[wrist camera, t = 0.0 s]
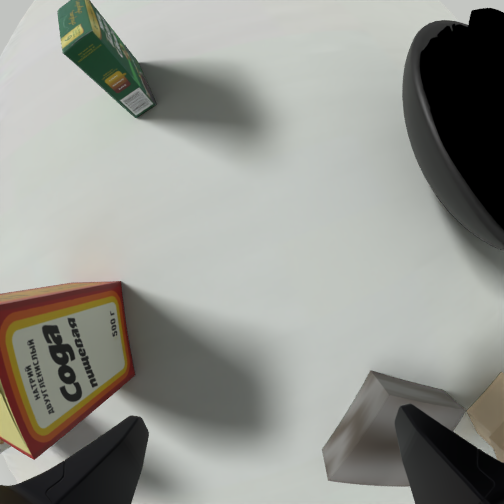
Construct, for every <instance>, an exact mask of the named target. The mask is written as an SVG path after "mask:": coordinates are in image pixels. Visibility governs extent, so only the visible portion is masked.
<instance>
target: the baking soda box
mask: <svg viewBox="0 0 504 504" xmlns="http://www.w3.org/2000/svg"><path fill="white" fill-rule="evenodd" d="M134 376H135V372H134V367H133V362H132V356H131V351H130V345H129V339H128V333H127V327H126V320H125V312H124V305H123V296H122V287H121V281H114V282H83V283H67V284H61V285H54V286H48V287H41V288H35V289H29V290H22V291H16V292H9V293H3V294H0V439H1V440H3V441H4V442H6V443H7V444H9V445H10V446H12V447H14V448H15V449H17V450H18V451H20V452H22V453H23V454H25V455H27V456H28V457H30V458H32V459H34V460H35V459H36V458H37V457H38V456H40V455H41V454H42V453H43V452H45V451H46V450H47V449H48V448H49V447H51V446H52V445H53V444H54V443H55V442H57V441H58V440H59V439H60V438H62V437H63V436H64V435H65V434H66V433H68V432H69V431H70V430H71V429H72V428H74V427H75V426H76V425H77V424H78V423H80V422H81V421H82V420H83V419H84V418H86V417H87V416H88V415H89V414H90V413H91V412H93V411H94V410H95V409H96V408H97V407H99V406H100V405H101V404H102V403H103V402H104V401H106V400H107V399H108V398H109V397H110V396H112V395H113V394H114V393H115V392H116V391H117V390H119V389H120V388H121V387H122V386H123V385H124V384H126V383H127V382H128V381H129V380H130V379H131V378H133V377H134Z"/></svg>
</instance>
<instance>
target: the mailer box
mask: <svg viewBox="0 0 504 504" xmlns="http://www.w3.org/2000/svg"><path fill="white" fill-rule="evenodd" d="M467 413H468V415H469V417H470V419H471V421H472V423H473V425H474V427H475V429H476V431H477V433H478V434H479V435H480V436H481V437H482V438H483V439H484V440H485V441H486V442H487V443H488V444H489V445H490V446H491V447H493V446H492V444H491V441H490V439H489V437H490V436H491V435H492V434H493V433H494V431H495V430H496V429H497V428H498V427H499V426H500V425H501V424H502V423H503V422H504V373H502V372H501V373H500V374H499V375H498V376H497V378H496V379H495V380H494V381H493V382H492V384H491V385H490V386H489V387H488V388H487V389H486V391H485V392H484V393H483V394H482V395H481V396H480V397H479V398H478V399H477V400H476V402H475V403H474V404H473V405H472V406H471V407H470V408H469V409H468V410H467Z"/></svg>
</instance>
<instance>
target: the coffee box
mask: <svg viewBox="0 0 504 504" xmlns="http://www.w3.org/2000/svg"><path fill="white" fill-rule="evenodd" d="M58 21H59V30H60V38H61V45H62V51H63V54H64V55H66V56H67V57H68V58H69V59H70V60H71V61H73V62H74V63H75V64H76V65H77V66H78V67H79V68H80V69H82V70H83V71H84V72H85V73H86V74H87V75H88V76H89V77H90V78H92V79H93V80H94V81H95V82H96V83H97V84H98V85H99V86H100V87H102V88H103V89H104V90H105V91H106V92H107V93H108V94H109V95H110V96H111V97H112V98H113V99H115V100H116V101H117V102H118V103H119V104H120V105H121V106H122V107H123V108H125V109H126V110H127V111H128V112H129V113H130V114H131V115H133V116H134V117H135V118H137V117H138V116H140V115H141V114H143V113H144V112H146V111H147V110H149V109H150V108H152V107H154V106H155V105H156V102H155V100H154V97H153V95H152V93H151V90H150V88H149V86H148V84H147V81H146V79H145V77H144V74H143V72H142V69H141V68H140V66H139V63H138V61H137V60H136V58H135V57H134V56H133V55H132V53H131V52H130V51H129V50H128V48H127V47H126V46H125V45H124V44H123V42H122V41H121V40H120V38H119V37H118V36H117V34H116V33H115V32H114V31H113V29H112V28H111V27H110V26H109V24H108V23H107V22H106V21H105V19H104V18H103V17H102V16H101V14H100V13H99V12H98V10H97V9H96V8H95V7H94V5H93V4H92V3H91V1H90V0H70V1H69V2H68V3H66V4H65V5H64V6H62V7H61V8H60V9H59V10H58Z"/></svg>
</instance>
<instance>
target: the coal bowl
mask: <svg viewBox="0 0 504 504" xmlns="http://www.w3.org/2000/svg"><path fill="white" fill-rule="evenodd" d="M402 97H403V109H404V117H405V123H406V127H407V132H408V136H409V139H410V142H411V146H412V149H413V151H414V154H415V157H416V159H417V162H418V164H419V166H420V168H421V170H422V172H423V174H424V176H425V178H426V180H427V181H428V183H429V185H430V187H431V188H432V190H433V191H434V193H435V194H436V196H437V197H438V198H439V200H440V201H441V202H442V204H443V205H444V206H445V207H446V208H447V210H448V211H449V212H450V213H451V214H452V215H453V216H454V217H455V218H456V219H457V220H458V221H459V222H460V223H461V224H462V225H463V226H464V227H465V228H467V229H468V230H469V231H470V232H471V233H473V234H474V235H475V236H477V237H478V238H480V239H481V240H483V241H485V242H486V243H488V244H490V245H491V246H494V247H496V248H498V249H500V250H503V251H504V13H503V12H501V11H499V10H496V9H492V8H485V9H484V8H483V9H477V10H472V12H471V15H470V20H469V25H466V24H463V23H460V22H456V21H449V20H441V21H435V22H432V23H429V24H428V25H426V26H424V27H423V28H422V29H421V30H420V31H419V32H418V33H417V34H416V36H415V38H414V40H413V42H412V44H411V47H410V49H409V52H408V55H407V59H406V63H405V68H404V75H403V94H402Z"/></svg>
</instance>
